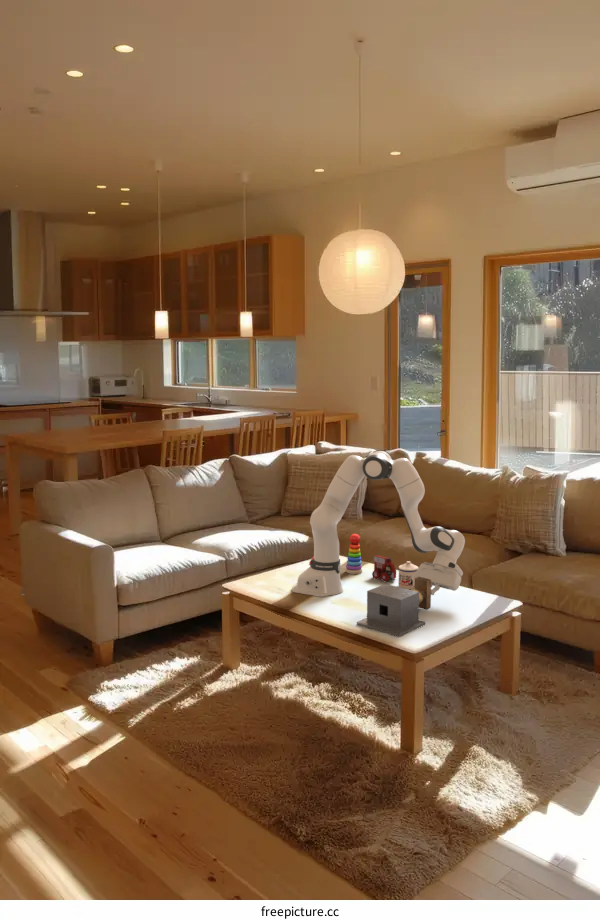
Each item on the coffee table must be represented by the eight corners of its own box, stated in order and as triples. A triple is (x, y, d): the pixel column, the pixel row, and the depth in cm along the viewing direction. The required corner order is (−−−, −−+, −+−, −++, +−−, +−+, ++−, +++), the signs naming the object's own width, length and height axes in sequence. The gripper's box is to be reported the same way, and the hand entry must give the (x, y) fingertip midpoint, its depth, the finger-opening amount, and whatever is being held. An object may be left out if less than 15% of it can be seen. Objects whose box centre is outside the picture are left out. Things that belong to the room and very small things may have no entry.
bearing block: (384, 613, 330) (384, 581, 328) (425, 624, 317) (426, 592, 315) (356, 624, 317) (356, 592, 315) (398, 637, 304) (399, 603, 302)
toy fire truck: (390, 583, 369) (390, 561, 368) (369, 577, 378) (369, 556, 376) (399, 580, 374) (400, 558, 373) (378, 574, 383) (379, 553, 381)
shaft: (417, 604, 336) (418, 576, 334) (431, 608, 332) (431, 579, 330) (387, 617, 321) (387, 588, 319) (400, 621, 316) (401, 591, 314)
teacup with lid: (394, 588, 362) (395, 562, 361) (402, 582, 370) (402, 557, 368) (420, 592, 357) (420, 566, 355) (427, 586, 364) (427, 561, 363)
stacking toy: (352, 575, 381) (353, 536, 378) (342, 571, 387) (342, 533, 384) (365, 572, 386) (365, 534, 383) (354, 569, 392) (355, 531, 389)
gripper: (419, 557, 346) (405, 584, 341) (461, 566, 333) (447, 595, 327) (425, 565, 350) (411, 592, 345) (466, 574, 337) (453, 603, 331)
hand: (429, 593), depth 336 cm, fingers closed
